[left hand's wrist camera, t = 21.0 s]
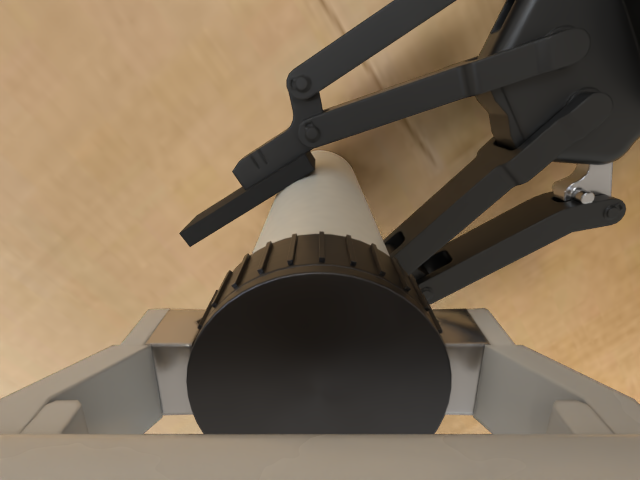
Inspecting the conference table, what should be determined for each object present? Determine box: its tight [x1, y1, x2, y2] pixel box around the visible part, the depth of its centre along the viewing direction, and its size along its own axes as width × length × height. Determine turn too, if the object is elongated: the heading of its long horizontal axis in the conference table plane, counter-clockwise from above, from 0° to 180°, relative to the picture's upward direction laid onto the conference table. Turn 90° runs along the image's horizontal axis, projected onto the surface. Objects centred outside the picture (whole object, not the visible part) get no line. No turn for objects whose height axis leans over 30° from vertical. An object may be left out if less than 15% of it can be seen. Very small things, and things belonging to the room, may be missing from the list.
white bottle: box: [252, 150, 389, 256], centre depth 17 cm, size 5×5×17 cm
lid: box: [186, 231, 452, 434], centre depth 9 cm, size 5×5×2 cm
